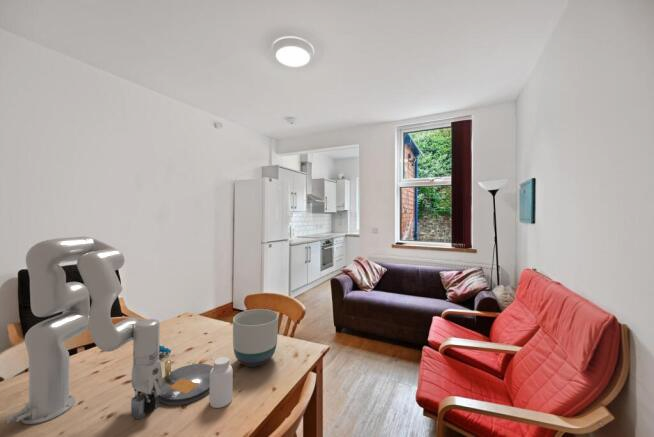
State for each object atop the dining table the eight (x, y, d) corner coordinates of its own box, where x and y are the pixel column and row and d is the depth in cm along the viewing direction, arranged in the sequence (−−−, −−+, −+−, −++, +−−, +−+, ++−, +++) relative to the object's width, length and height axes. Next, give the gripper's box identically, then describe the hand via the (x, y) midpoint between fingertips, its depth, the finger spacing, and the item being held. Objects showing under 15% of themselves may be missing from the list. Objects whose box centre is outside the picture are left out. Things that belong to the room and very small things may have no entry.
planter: (285, 356, 127) (286, 313, 127) (258, 380, 109) (259, 329, 108) (252, 347, 136) (253, 306, 135) (222, 367, 117) (223, 320, 117)
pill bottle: (225, 390, 102) (225, 352, 102) (236, 400, 97) (237, 360, 97) (205, 401, 96) (205, 361, 96) (216, 412, 91) (216, 369, 90)
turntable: (224, 385, 103) (224, 362, 103) (162, 409, 89) (162, 383, 89) (208, 361, 119) (208, 342, 119) (153, 380, 105) (154, 357, 105)
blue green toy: (176, 351, 128) (161, 342, 121) (169, 364, 124) (153, 356, 117) (160, 349, 132) (145, 341, 125) (153, 362, 127) (137, 354, 121)
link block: (138, 419, 87) (138, 401, 87) (131, 416, 88) (131, 398, 88) (159, 406, 93) (159, 389, 93) (151, 402, 95) (152, 386, 95)
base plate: (183, 413, 90) (183, 410, 90) (142, 395, 98) (142, 392, 98) (230, 377, 110) (230, 375, 110) (192, 365, 119) (192, 363, 119)
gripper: (173, 357, 91) (172, 409, 91) (142, 346, 97) (141, 395, 97) (151, 368, 84) (150, 424, 84) (119, 356, 90) (119, 408, 91)
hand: (145, 408), depth 91 cm, fingers closed on link block, 4 cm apart
